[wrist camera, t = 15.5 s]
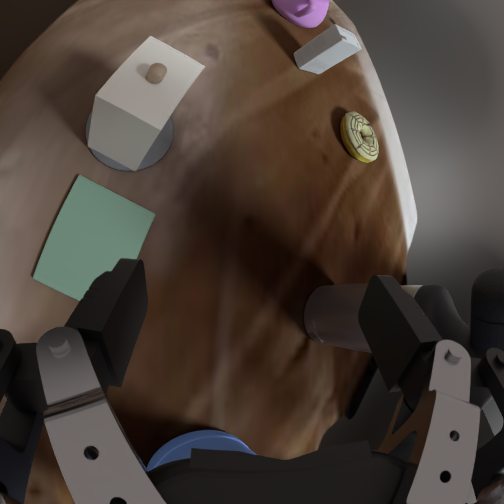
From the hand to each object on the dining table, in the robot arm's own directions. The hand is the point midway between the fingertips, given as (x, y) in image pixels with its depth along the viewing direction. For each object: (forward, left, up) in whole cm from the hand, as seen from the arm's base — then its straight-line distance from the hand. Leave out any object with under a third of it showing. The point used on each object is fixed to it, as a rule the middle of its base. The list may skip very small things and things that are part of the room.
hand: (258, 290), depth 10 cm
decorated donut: (-48, -5, -24) cm, 54 cm away
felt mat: (+3, -5, -24) cm, 24 cm away
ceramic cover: (-6, -16, -23) cm, 29 cm away
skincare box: (-44, -23, -24) cm, 56 cm away
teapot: (-52, -41, -24) cm, 71 cm away
